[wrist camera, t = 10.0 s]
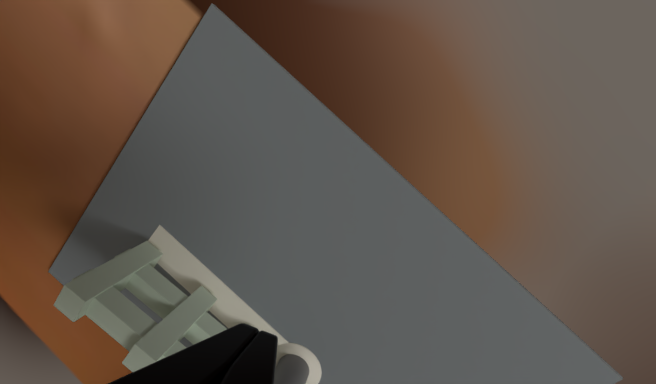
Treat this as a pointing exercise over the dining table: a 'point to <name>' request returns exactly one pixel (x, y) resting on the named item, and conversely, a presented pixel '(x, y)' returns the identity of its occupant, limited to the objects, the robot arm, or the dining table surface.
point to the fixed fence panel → (291, 370)
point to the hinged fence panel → (130, 321)
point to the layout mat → (311, 235)
